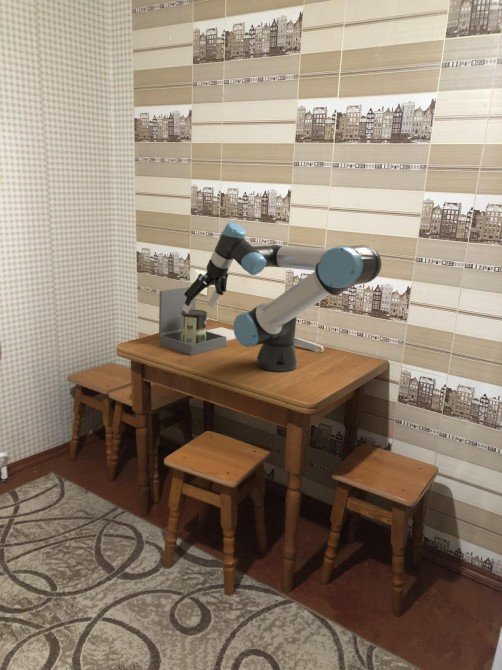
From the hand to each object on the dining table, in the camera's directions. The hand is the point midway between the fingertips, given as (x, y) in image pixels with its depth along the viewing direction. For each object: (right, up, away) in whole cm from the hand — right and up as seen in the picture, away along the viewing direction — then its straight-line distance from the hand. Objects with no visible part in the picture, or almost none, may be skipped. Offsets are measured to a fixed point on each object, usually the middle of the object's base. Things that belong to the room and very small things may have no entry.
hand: (198, 308), depth 202 cm
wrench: (+37, -15, +23) cm, 46 cm away
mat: (+7, -10, +33) cm, 36 cm away
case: (-3, -14, +14) cm, 21 cm away
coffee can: (-3, -15, +15) cm, 21 cm away
